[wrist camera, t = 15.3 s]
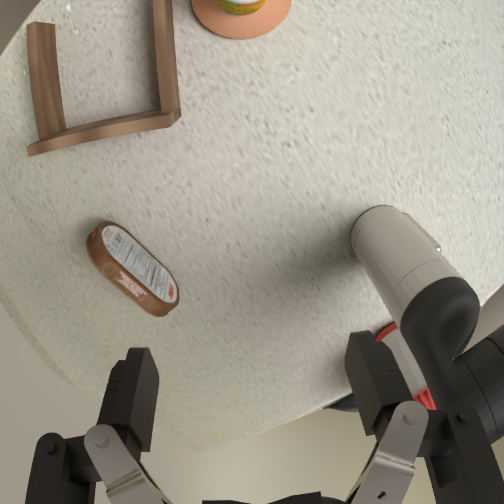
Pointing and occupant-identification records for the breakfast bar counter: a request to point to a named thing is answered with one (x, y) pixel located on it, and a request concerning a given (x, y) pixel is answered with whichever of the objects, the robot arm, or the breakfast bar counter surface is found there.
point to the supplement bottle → (241, 6)
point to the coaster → (241, 18)
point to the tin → (132, 269)
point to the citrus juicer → (407, 365)
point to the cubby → (59, 137)
